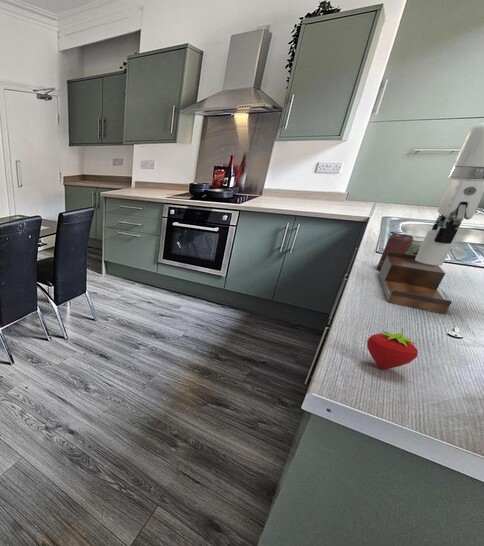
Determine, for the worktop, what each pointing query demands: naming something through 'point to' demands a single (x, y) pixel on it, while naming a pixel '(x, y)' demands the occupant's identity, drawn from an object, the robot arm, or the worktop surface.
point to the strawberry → (391, 350)
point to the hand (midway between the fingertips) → (439, 239)
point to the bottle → (433, 248)
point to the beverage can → (415, 246)
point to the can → (396, 246)
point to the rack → (412, 283)
